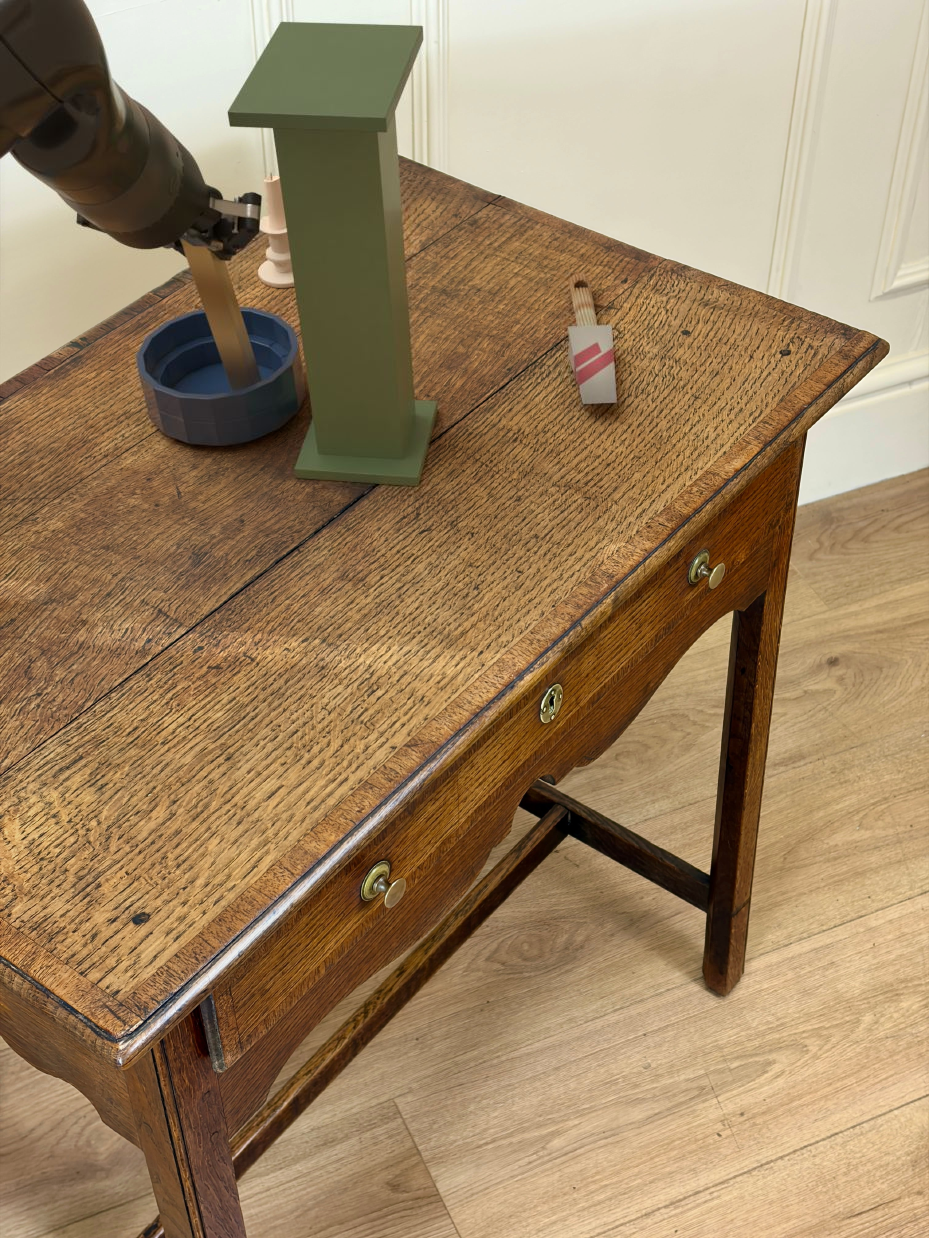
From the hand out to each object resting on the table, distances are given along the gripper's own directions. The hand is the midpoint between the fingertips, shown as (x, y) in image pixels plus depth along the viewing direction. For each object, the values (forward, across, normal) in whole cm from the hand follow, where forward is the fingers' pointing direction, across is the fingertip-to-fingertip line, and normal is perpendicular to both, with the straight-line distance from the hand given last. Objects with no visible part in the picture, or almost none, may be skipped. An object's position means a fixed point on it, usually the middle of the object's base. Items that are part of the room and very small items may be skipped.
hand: (210, 246), depth 97 cm
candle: (+28, +2, -5) cm, 29 cm away
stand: (+11, -11, +13) cm, 20 cm away
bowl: (+13, +2, +10) cm, 17 cm away
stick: (+2, 0, +4) cm, 5 cm away
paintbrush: (+21, -28, +2) cm, 35 cm away
